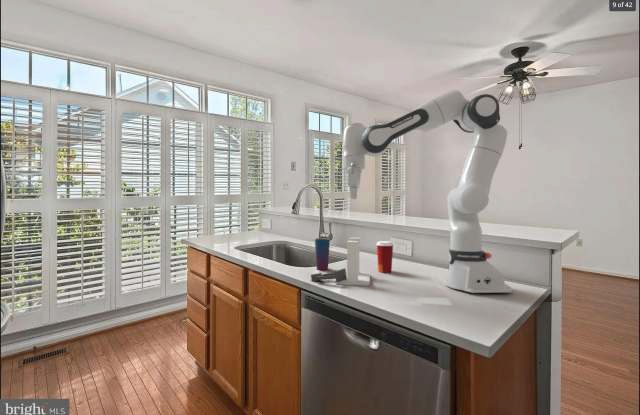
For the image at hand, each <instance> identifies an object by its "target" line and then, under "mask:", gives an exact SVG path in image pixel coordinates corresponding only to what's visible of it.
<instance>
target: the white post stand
mask: <svg viewBox="0 0 640 415" xmlns="http://www.w3.org/2000/svg"><path fill="white" fill-rule="evenodd" d="M346 246H347V248H346V249H347V250H346V252H347V254H346V257H347V259H346V260H347V261H346V262H347V265H346V266H347V267H346V268H347V269H346V276H347V279H345V280H342V281H340V282H336V281H335V285H345V286H346V285H347V286H370V285H371V284H370V283H371V273H370V272H360V237H349V240H347V245H346Z"/></svg>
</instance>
